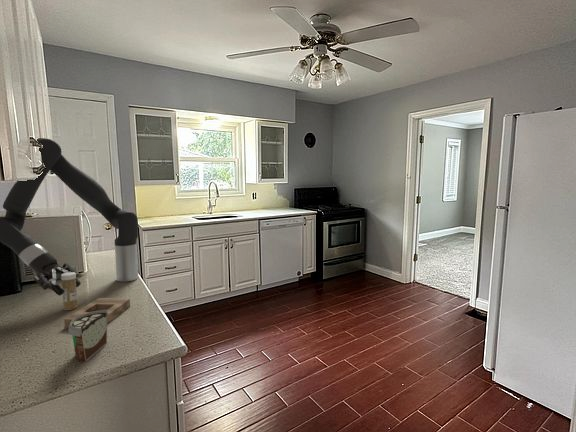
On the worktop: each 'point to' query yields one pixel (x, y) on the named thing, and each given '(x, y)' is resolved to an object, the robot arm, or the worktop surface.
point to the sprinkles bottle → (69, 290)
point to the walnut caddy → (102, 308)
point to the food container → (89, 333)
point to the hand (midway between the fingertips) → (70, 289)
